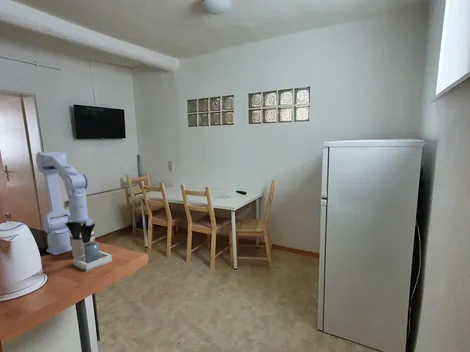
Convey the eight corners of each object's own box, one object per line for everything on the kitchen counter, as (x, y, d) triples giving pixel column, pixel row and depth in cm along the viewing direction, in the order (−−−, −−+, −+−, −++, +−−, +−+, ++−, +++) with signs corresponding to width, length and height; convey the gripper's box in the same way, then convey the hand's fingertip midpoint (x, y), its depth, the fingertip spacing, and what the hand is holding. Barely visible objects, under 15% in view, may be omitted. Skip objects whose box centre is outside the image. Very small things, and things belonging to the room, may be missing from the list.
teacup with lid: (92, 257, 110) (90, 230, 108) (68, 260, 108) (65, 232, 107) (100, 246, 121) (98, 222, 120) (79, 248, 120) (76, 223, 118)
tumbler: (83, 262, 104) (81, 244, 103) (95, 257, 108) (94, 240, 107) (89, 265, 101) (88, 247, 100) (102, 260, 105) (100, 243, 104)
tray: (73, 264, 103) (73, 258, 103) (98, 255, 111) (98, 250, 111) (86, 271, 98) (86, 264, 97) (112, 261, 106) (111, 255, 106)
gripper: (57, 206, 101) (61, 240, 102) (76, 211, 93) (80, 248, 95) (77, 202, 107) (80, 235, 108) (96, 206, 99) (99, 241, 100)
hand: (81, 240), depth 102 cm, fingers open, 7 cm apart
